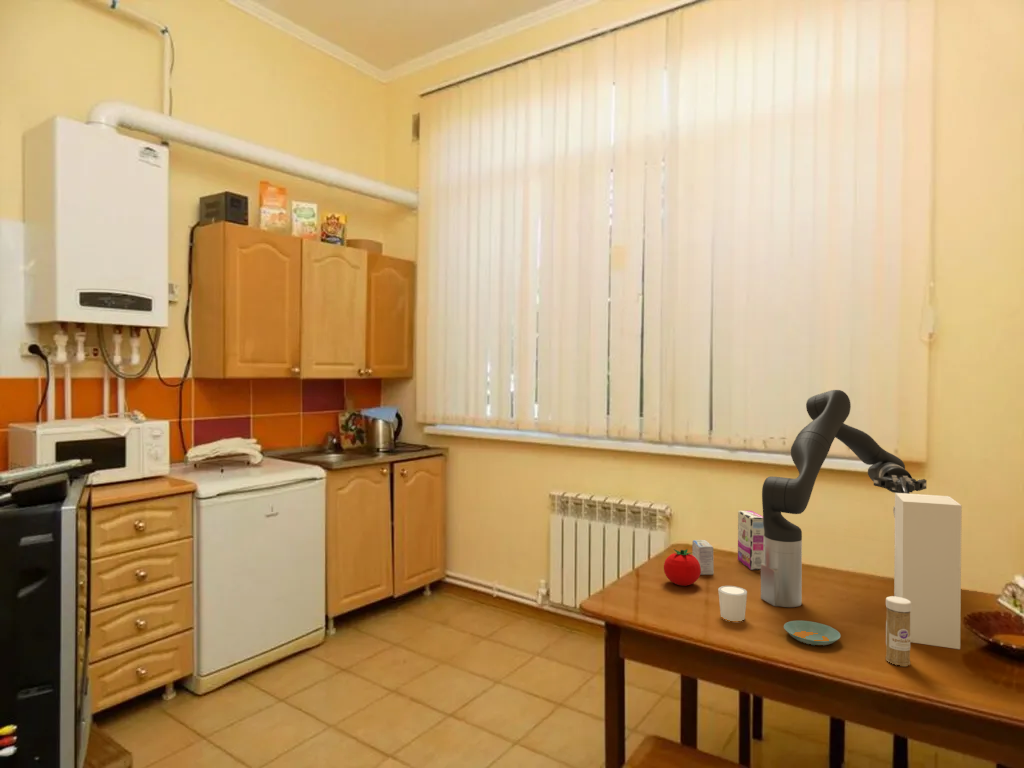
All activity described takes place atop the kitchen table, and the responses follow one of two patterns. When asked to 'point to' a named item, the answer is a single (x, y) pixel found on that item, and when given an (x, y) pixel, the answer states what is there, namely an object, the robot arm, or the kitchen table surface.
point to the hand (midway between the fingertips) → (905, 488)
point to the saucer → (812, 627)
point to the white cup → (732, 602)
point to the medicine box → (703, 556)
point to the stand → (929, 566)
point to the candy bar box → (750, 539)
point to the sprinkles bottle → (898, 630)
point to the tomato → (682, 568)
